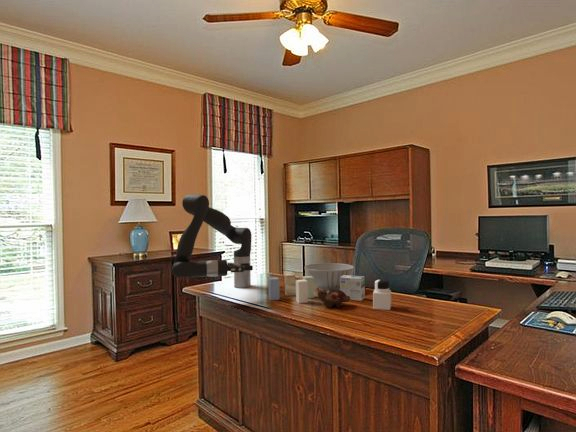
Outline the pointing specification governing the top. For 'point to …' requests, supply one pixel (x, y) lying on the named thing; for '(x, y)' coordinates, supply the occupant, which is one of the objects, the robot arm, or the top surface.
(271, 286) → the slate-blue pillar
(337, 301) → the decorative turtle
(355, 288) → the light bulb box
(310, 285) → the sage pillar
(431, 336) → the top surface
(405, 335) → the top surface
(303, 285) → the ivory pillar
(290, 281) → the maple pillar
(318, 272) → the decorative bowl
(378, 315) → the top surface
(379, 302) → the medicine bottle
